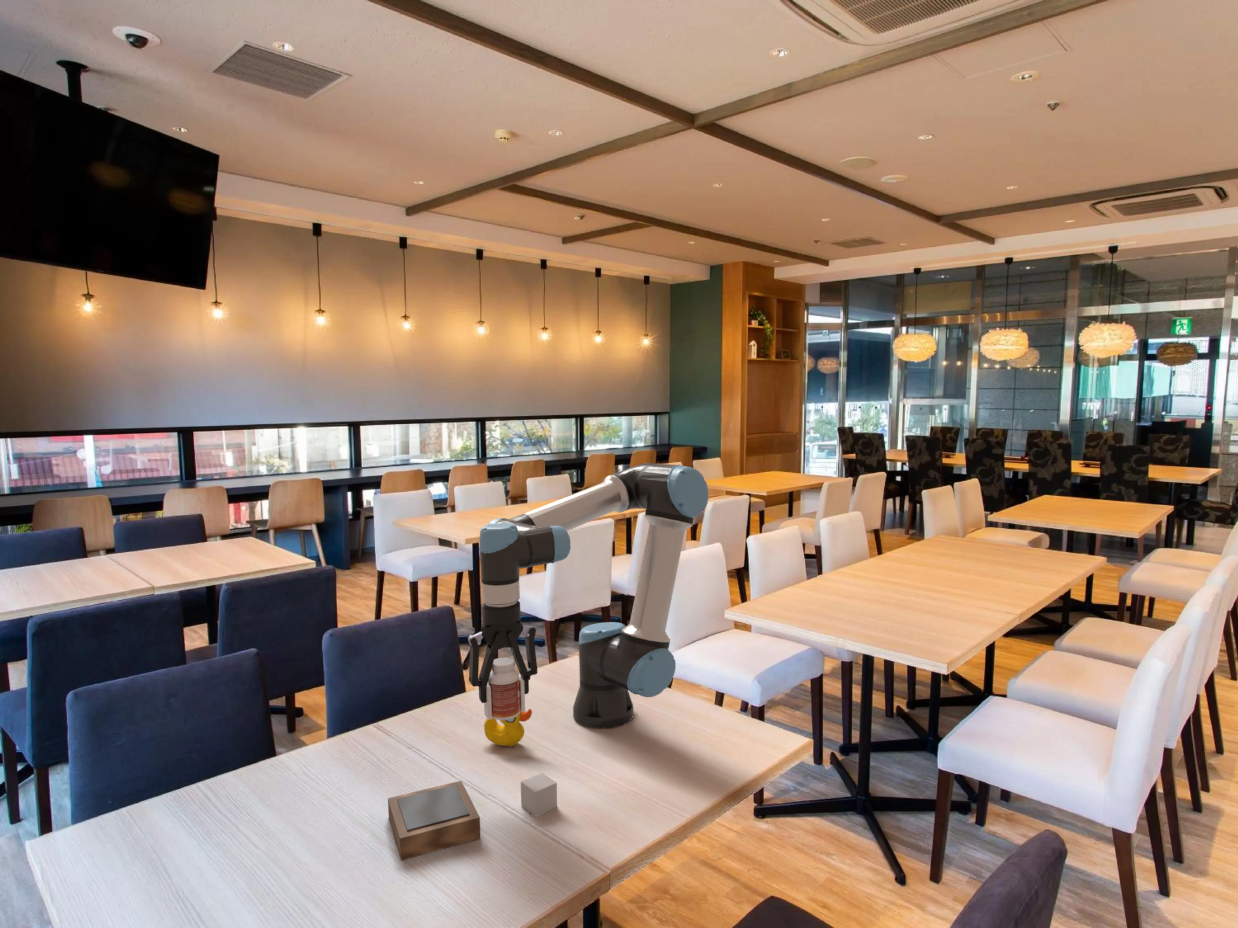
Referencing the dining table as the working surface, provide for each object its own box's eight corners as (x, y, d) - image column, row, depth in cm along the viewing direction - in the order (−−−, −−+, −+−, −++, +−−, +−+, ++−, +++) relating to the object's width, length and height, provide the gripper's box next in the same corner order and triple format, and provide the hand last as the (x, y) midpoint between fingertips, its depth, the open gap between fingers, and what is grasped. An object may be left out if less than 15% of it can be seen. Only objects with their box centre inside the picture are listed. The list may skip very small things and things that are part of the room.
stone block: (542, 796, 144) (541, 772, 144) (557, 807, 140) (556, 782, 140) (521, 805, 141) (520, 781, 140) (535, 816, 137) (535, 791, 137)
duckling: (536, 741, 167) (535, 699, 166) (528, 752, 162) (528, 709, 161) (489, 737, 169) (488, 696, 168) (481, 748, 164) (479, 705, 163)
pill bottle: (525, 715, 145) (523, 662, 144) (497, 724, 141) (495, 669, 140) (512, 705, 150) (510, 653, 149) (484, 712, 146) (482, 660, 145)
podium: (461, 799, 143) (461, 778, 143) (480, 837, 130) (479, 815, 130) (388, 818, 137) (387, 796, 136) (400, 860, 124) (399, 836, 124)
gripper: (540, 590, 151) (543, 696, 153) (448, 603, 142) (453, 715, 145) (552, 599, 144) (556, 710, 146) (457, 613, 136) (462, 731, 138)
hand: (504, 712), depth 146 cm, fingers closed on pill bottle, 6 cm apart
